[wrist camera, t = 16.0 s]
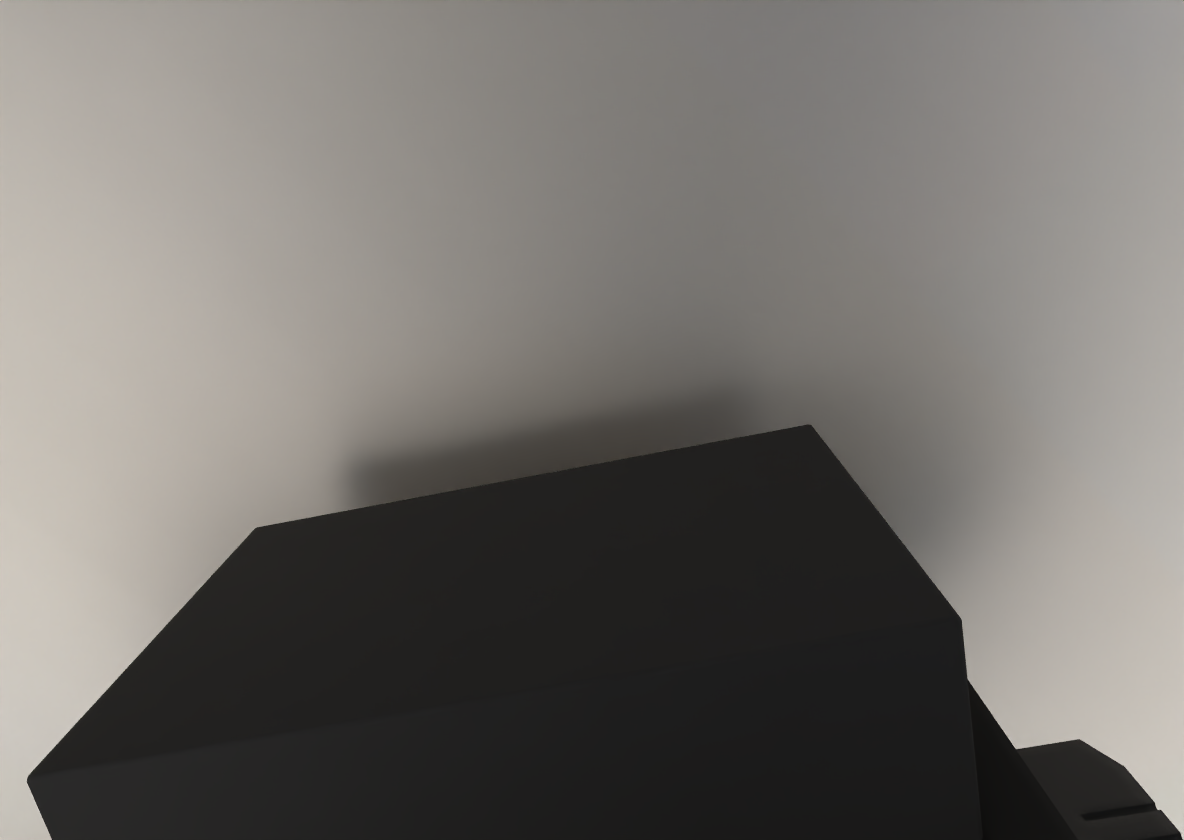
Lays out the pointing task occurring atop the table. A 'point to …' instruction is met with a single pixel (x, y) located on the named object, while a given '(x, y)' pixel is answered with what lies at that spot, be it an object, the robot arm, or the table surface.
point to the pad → (549, 671)
